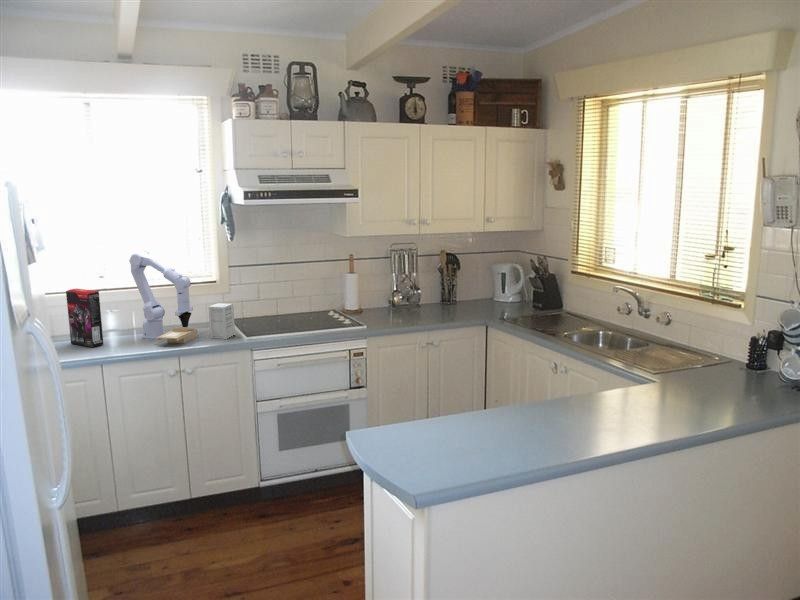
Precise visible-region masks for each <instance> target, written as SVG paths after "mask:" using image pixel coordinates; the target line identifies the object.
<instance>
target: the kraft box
mask: <svg viewBox="0 0 800 600" xmlns="http://www.w3.org/2000/svg"><path fill="white" fill-rule="evenodd" d="M188 331H191V335H189V336H186V337H184V338H182V339H180V340H178V341H176V339H167V343H186V342H188V341H190V340H192V339H194V338H196V337H198V335H199V334H198V328H188Z"/></svg>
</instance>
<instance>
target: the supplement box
mask: <svg viewBox="0 0 800 600" xmlns="http://www.w3.org/2000/svg"><path fill="white" fill-rule="evenodd" d="M234 312H235V311H234V303H219V302H217V303H215V304H214V303H213V304H211V305H209V306H208V316H209V318H208V319H209V331H210V335H209V336H210V338H211V339H224V340H228V339H230V338H232V337H234V336H233V335H235V336H236V327H235V326H236V325H235V313H234ZM231 336H232V337H231ZM229 337H230V338H229ZM227 338H228V339H227Z"/></svg>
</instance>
